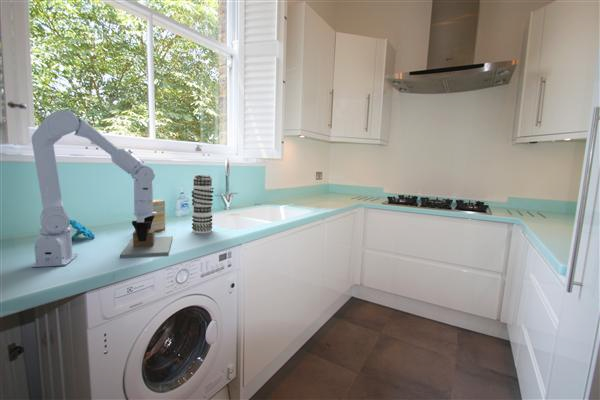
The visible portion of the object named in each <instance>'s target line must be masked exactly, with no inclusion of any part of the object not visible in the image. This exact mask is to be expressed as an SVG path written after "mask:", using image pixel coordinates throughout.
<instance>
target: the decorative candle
mask: <svg viewBox="0 0 600 400" xmlns="http://www.w3.org/2000/svg"><path fill="white" fill-rule="evenodd" d="M192 179H193V185H192V189H193V190H191V197H192V198H191V201H192V203H191V205H192V206H193V211H192V216H191V217H192V219H191V222H192V223H191V226H192V227H191V229H192V233H194V234H209V233H212V232H213V226H212V225H213V222H212V221H213V219H212V218H213V215H212V214H213V213H212V207H213V205H214V204H213V203H212V202H213V201H214V199H213V198H214V195H212V194H213V193H214V187H213V185H212V183H213V182H212V181H213V178H212V177H211V176H210V175H209V174H196V175H194V176H193V178H192Z"/></svg>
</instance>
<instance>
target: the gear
mask: <svg viewBox="0 0 600 400" xmlns="http://www.w3.org/2000/svg"><path fill="white" fill-rule="evenodd" d="M69 225H71V227H72V228H73V229H75V230H76V232H75V233H74V234H73V235H71V238H72V241H73V240H75V239H76V238H77V237H79V236H80V235H83V237H87V238H88V239H90V240H91V239H92V240H93V239H95V238H96V237H95V234H93V232H92V231H91V230H90V229H88V227H87V226H86V225H83V224H82V223H80V222H77V220H73V219H70V224H69Z"/></svg>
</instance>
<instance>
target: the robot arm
mask: <svg viewBox="0 0 600 400" xmlns="http://www.w3.org/2000/svg"><path fill="white" fill-rule="evenodd" d="M74 132H75V133H74ZM72 133H74V136H78V137H81V138H85V139H88V140H89V141H90V142H91V143H93V144H94V145H95V146H97V147H99V148H100V149H101V150H103V151H104V152H105V153H107V154H108V155H110V157H111V162H112V163H113V164H115V165H116V166H117V167H119V168H120V169H121V170H123V171H124V172H125V173H126V174H128V175H130V176H131V178H132V179H133V200H134V201H133V204H134V205H133V207H134V208H133V210H134V211H133V216H134V217H136V220H132V221H131V224H132V226H133V228H134V231H135V230H136V233H137V237H138V240H139V242H140V241H146V239H147V233H148V229H151V224H152V221H153V219H154V217H155V215H156V214H157V212H153V200H154V196H153V195H154V193H153V188H154V187H153V180H154V179H155V177H156V174H155V173H154V170H153V168H151V167H150V166H147V165H145V161H143V160H140V159H138V157H136V156H135V155H133V151H132V150H131V149H126V148H118V147H117V146H116V145H115V144H114V143H113V142H111V141H110V139H108V138H107V137H105V136H104V135H103V134H102V133H100V131H98V130H97V129H96V128H95V127H94V126H93V125H91V124H90V123H88V122H87V121H86V120H84V119H82V118H81V117H77V115H76V114H75V113H74V112H72V111H70V110H66V109H58V110H55V111H54V112H51V113H50V114H48V115H47V116H46V117H45V118H44V119H43V120H42V122H41V123H40V124H39V126H38V127H37V128H36V130H35V131H34V132H33V134H32V136H31V144H32V151H33V156H34V161H35V167H36V173H37V180H38V187H39V192H40V197H41V203H42V211H41V213H40V226H41V228H40V229H39V231H38V233H39V238H38V239H37V240H36V242H35V244H34V256H35V258H34V259H35V263H33V264H32V265H31V267H32V268H41V267H55V266H56V267H57V266H67V265H68V264H69V263H70V262H72V261H73V260H74V259H75V258H77V256H78V255H79V254H78V253H73V240H72V238H71V237H72V228H71V227H70V225H71V224H70V220H71V219H70V217H69V216H68V213H67V211H66V210H65V209H64V205H63V198H62V192H61V186H60V185H61V184H60V178H59V171H58V166H57V160H56V152H55V147H54V146H55V144H56V143H57V142H58V141H59V140H60V139H62V138H63V137H64V136H67V135H69V134H72Z"/></svg>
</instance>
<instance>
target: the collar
mask: <svg viewBox="0 0 600 400" xmlns="http://www.w3.org/2000/svg"><path fill="white" fill-rule="evenodd" d="M154 237H155V231H154V229H148V233H147V239H146V241H140V242H139V240H138V237H137V233H136V230H135V229H134V231H133V233H132V238H133V247H150V246H153V245H154Z"/></svg>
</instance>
